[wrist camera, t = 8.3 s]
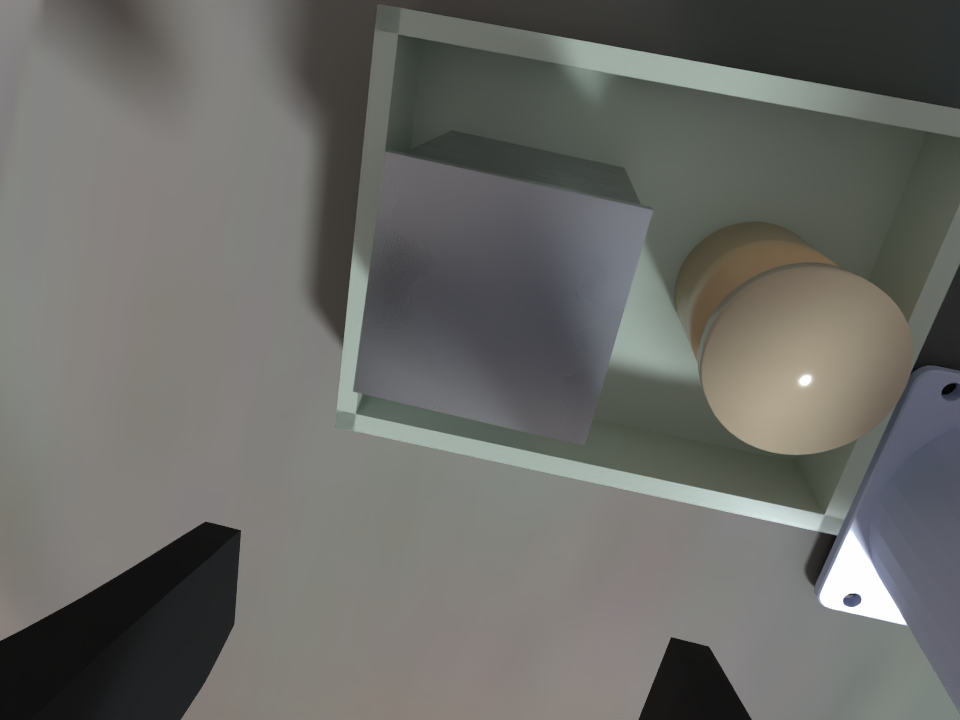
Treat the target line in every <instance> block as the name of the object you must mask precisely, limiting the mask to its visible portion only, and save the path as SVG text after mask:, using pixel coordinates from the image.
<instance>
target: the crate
mask: <svg viewBox="0 0 960 720" xmlns="http://www.w3.org/2000/svg"><path fill="white" fill-rule="evenodd" d="M452 130H453V131H458V132H462V133H467V134H472V135H476V136H481V137H485V138H490V139H495V140H499V141H504V142H508V143H513V144H518V145H522V146H527V147H532V148H536V149H541V150H545V151H550V152H555V153H559V154H564V155H569V156H573V157H578V158H582V159H587V160H592V161H596V162H601V163H605V164H610V165H615V166H619V167H624V168H625V170H626V172H627V175H628V177H629V179H630V181H631V183H632V186H633V188H634V190H635V192H636V194H637V197H638V199H639V201H640V203H641V205H645V206H649V207H652V209H653V213H652V216H651V220H650V223H649V227H648V230H647V234H646V237H645V240H644V244H643V247H642V251H641V254H640V258H639V261H638V265H637V268H636V271H635V275H634V278H633V282H632V285H631V289H630V292H629V296H628V299H627V302H626V306H625V309H624V313H623V316H622V320H621V323H620V326H619V330H618V333H617V337H616V340H615V344H614V347H613V351H612V354H611V357H610V361H609V364H608V368H607V371H606V375H605V378H604V382H603V385H602V388H601V392H600V395H599V399H598V402H597V406H596V409H595V413H594V416H593V419H592V423H591V426H590V430H589V433H588V437H587V440H586V444H585V446H581V445H577V444H573V443H569V442H564V441H560V440H556V439H552V438H547V437H543V436H539V435H535V434H530V433H526V432H522V431H518V430H513V429H509V428H505V427H501V426H497V425H492V424H488V423H484V422H480V421H475V420H471V419H467V418H463V417H458V416H454V415H450V414H446V413H441V412H437V411H433V410H429V409H424V408H420V407H416V406H412V405H407V404H403V403H399V402H395V401H390V400H386V399H382V398H378V397H373V396H369V395H365V394H361V393H356V392H353V387H354V380H355V372H356V365H357V357H358V350H359V343H360V335H361V328H362V320H363V313H364V306H365V298H366V291H367V283H368V276H369V269H370V261H371V254H372V246H373V239H374V231H375V224H376V217H377V209H378V202H379V194H380V187H381V180H382V172H383V165H384V157H385V151H388V150H393V151H398V152H403V153H404V152H406V151H408V150H410V149H412V148H415V147H417V146H419V145H421V144H423V143H426V142H428V141H430V140H432V139H434V138H436V137H439V136H441V135H443V134H445V133H447V132H449V131H452ZM744 222H765V223H771V224H774V225H778V226H781V227H783V228H785V229H787V230H789V231H791V232H792V233H794V234H796V235H797V236H798V237H800V238H801V239H802V240H804V241H805V242H807V243H808V244H809V245H811V246H812V247H813V248H815V249H816V250H818V251H819V252H820V253H822V254H823V255H824V256H826V257H827V258H828V259H830V260H831V261H833V262H834V263H835V264H837V265H838V266H839V267H843V268H845V269H848V270H850V271H853V272H855V273H857V274H859V275H860V276H862V277H864V278H865V279H867V280H868V281H870V282H871V283H873V284H874V285H875V286H877V287H878V288H880V289H881V290H882V291H883V292H884V293H886V294H887V295H888V296H889V297H890V298H891V299H892V300H893V301H894V302H895V303H896V304H897V306H898V307H899V309H900V310H901V312H902V313H903V315H904V317H905V319H906V321H907V323H908V326H909V328H910V332H911V336H912V342H913V364H912V369H913V367H914V364H915V362H916V360H917V358H918V355H919V353H920V351H921V349H922V347H923V344H924V342H925V340H926V338H927V335H928V333H929V331H930V329H931V327H932V324H933V322H934V320H935V318H936V315H937V313H938V311H939V309H940V307H941V304H942V302H943V300H944V298H945V295H946V293H947V291H948V289H949V287H950V284H951V282H952V280H953V278H954V275H955V273H956V271H957V269H958V267H959V264H960V109H956V108H950V107H945V106H939V105H934V104H928V103H923V102H917V101H912V100H906V99H901V98H895V97H890V96H884V95H879V94H873V93H868V92H862V91H857V90H851V89H846V88H840V87H835V86H829V85H824V84H818V83H813V82H807V81H802V80H796V79H791V78H785V77H780V76H774V75H769V74H763V73H758V72H752V71H746V70H741V69H735V68H730V67H724V66H719V65H713V64H708V63H702V62H697V61H691V60H686V59H680V58H675V57H669V56H664V55H658V54H653V53H647V52H642V51H636V50H631V49H625V48H620V47H614V46H609V45H603V44H598V43H592V42H587V41H581V40H576V39H570V38H565V37H559V36H553V35H548V34H542V33H537V32H531V31H526V30H520V29H515V28H509V27H504V26H498V25H493V24H487V23H482V22H476V21H471V20H465V19H460V18H454V17H449V16H443V15H438V14H432V13H427V12H421V11H416V10H410V9H405V8H399V7H394V6H388V5H383V4H377V12H376V22H375V32H374V42H373V52H372V62H371V72H370V82H369V92H368V102H367V112H366V122H365V132H364V142H363V153H362V163H361V173H360V183H359V193H358V203H357V213H356V223H355V233H354V243H353V253H352V263H351V273H350V283H349V293H348V303H347V313H346V323H345V333H344V343H343V353H342V363H341V374H340V384H339V394H338V404H337V414H336V424H335V427H338V428H343V429H347V430H352V431H357V432H361V433H366V434H371V435H375V436H380V437H384V438H389V439H394V440H398V441H403V442H407V443H412V444H417V445H421V446H426V447H431V448H435V449H440V450H444V451H449V452H454V453H458V454H463V455H468V456H472V457H477V458H481V459H486V460H491V461H495V462H500V463H505V464H509V465H514V466H518V467H523V468H528V469H532V470H537V471H542V472H546V473H551V474H555V475H560V476H565V477H569V478H574V479H578V480H583V481H588V482H592V483H597V484H602V485H606V486H611V487H615V488H620V489H625V490H629V491H634V492H639V493H643V494H648V495H652V496H657V497H662V498H666V499H671V500H676V501H680V502H685V503H689V504H694V505H699V506H703V507H708V508H712V509H717V510H722V511H726V512H731V513H736V514H740V515H745V516H749V517H754V518H759V519H763V520H768V521H773V522H777V523H782V524H786V525H791V526H796V527H800V528H805V529H810V530H814V531H819V532H823V533H828V534H833V535H838V533H839V531H840V529H841V527H842V524H843V522H844V520H845V518H846V515H847V513H848V511H849V509H850V507H851V504H852V502H853V500H854V498H855V495H856V493H857V491H858V489H859V487H860V484H861V482H862V480H863V478H864V475H865V473H866V471H867V469H868V467H869V464H870V462H871V460H872V458H873V455H874V453H875V451H876V449H877V447H878V444H879V442H880V440H881V438H882V435H883V433H884V431H885V429H886V427H887V424H888V422H889V420H890V418H891V415H892V413H893V411H894V409H895V407H896V405H895V406H894V408H893V409H892V410H891V412H890V413H889V414H888V415H887V416H886V417H885V418H884V419H883V420H882V421H881V422H880V423H879V424H878V425H877V426H875V427H874V428H873V429H872V430H870V431H869V432H867V433H866V434H864V435H863V436H861V437H860V438H858V439H856V440H854V441H852V442H850V443H848V444H846V445H843V446H841V447H838V448H835V449H832V450H828V451H825V452H820V453H814V454H804V455H788V454H779V453H773V452H769V451H765V450H762V449H759V448H756V447H754V446H752V445H749V444H747V443H746V442H744V441H742V440H740V439H739V438H737V437H736V436H735V435H733V434H732V433H731V432H729V431H728V430H727V429H726V428H725V427H724V426H723V425H722V424H721V422H720V421H719V420H718V418H717V417H716V416H715V414H714V413H713V411H712V409H711V407H710V405H709V403H708V401H707V398H706V395H705V393H704V390H703V388H702V385H701V382H700V377H699V373H698V363H697V360H696V358H695V356H694V353H693V351H692V348H691V346H690V344H689V341H688V339H687V336H686V334H685V332H684V329H683V327H682V324H681V322H680V319H679V317H678V314H677V311H676V306H675V296H674V294H675V285H676V280H677V276H678V273H679V271H680V268H681V266H682V264H683V262H684V261H685V259H686V258H687V256H688V255H689V253H690V252H691V251H692V250H693V249H694V248H695V247H696V245H698V244H699V243H700V242H701V241H702V240H703V239H705V238H706V237H708V236H709V235H710V234H712V233H714V232H716V231H718V230H720V229H722V228H725V227H727V226H730V225H734V224H738V223H744ZM912 369H911V371H912Z"/></svg>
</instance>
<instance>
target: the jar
mask: <svg viewBox="0 0 960 720" xmlns="http://www.w3.org/2000/svg"><path fill="white" fill-rule="evenodd" d="M674 296H675V306H676V311H677V314H678V317H679V319H680V322H681V324H682V327H683V329H684V332H685V334H686V336H687V339H688V341H689V344H690V346H691V348H692V351H693V353H694V356H695V358H696V360H697V363H698V373H699V377H700V382H701V385H702V388H703V390H704V393H705V395H706V398H707V401H708V403H709V405H710V407H711V409H712V411H713V413H714V414H715V416H716V417H717V418H718V420H719V421H720V422H721V424H722V425H723V426H724V427H725V428H726V429H727V430H728V431H729V432H731V433H732V434H733V435H735V436H736V437H737V438H739V439H740V440H742V441H744V442H746V443H747V444H749V445H752V446H754V447H756V448H759V449H762V450H765V451H769V452H773V453H779V454H788V455H804V454H814V453H820V452H825V451H828V450H832V449H835V448H838V447H841V446H843V445H846V444H848V443H850V442H852V441H854V440H856V439H858V438H860V437H861V436H863V435H864V434H866V433H867V432H869V431H870V430H872V429H873V428H874V427H875V426H877V425H878V424H879V423H880V422H881V421H882V420H883V419H884V418H885V417H886V416H887V415H888V414H889V413H890V412H891V410H892V409H893V408H894V406H895V405H896V404H897V402H898V401H899V399H900V397H901V396H902V394H903V392H904V390H905V388H906V385H907V383H908V380H909V377H910V374H911V369H912V364H913V342H912V336H911V332H910V328H909V326H908V323H907V321H906V319H905V317H904V315H903V313H902V312H901V310H900V309H899V307H898V306H897V304H896V303H895V302H894V301H893V300H892V299H891V298H890V297H889V296H888V295H887V294H886V293H884V292H883V291H882V290H881V289H880V288H878V287H877V286H875V285H874V284H873V283H871V282H870V281H868V280H867V279H865V278H864V277H862V276H860V275H859V274H857V273H855V272H853V271H850V270H848V269H845V268H843V267H839V266H838V265H837V264H835V263H834V262H833V261H831V260H830V259H828V258H827V257H826V256H824V255H823V254H822V253H820V252H819V251H818V250H816V249H815V248H813V247H812V246H811V245H809V244H808V243H807V242H805V241H804V240H802V239H801V238H800V237H798V236H797V235H796V234H794V233H792V232H791V231H789V230H787V229H785V228H783V227H781V226H778V225H774V224H771V223H765V222H744V223H738V224H734V225H730V226H727V227H725V228H722V229H720V230H718V231H716V232H714V233H712V234H710V235H709V236H708V237H706V238H705V239H703V240H702V241H701V242H700V243H699V244H698V245H696V247H695V248H694V249H693V250H692V251H691V252H690V253H689V255H688V256H687V258H686V259H685V261H684V262H683V264H682V266H681V268H680V271H679V273H678V276H677V280H676V285H675V294H674Z"/></svg>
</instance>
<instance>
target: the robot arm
mask: <svg viewBox="0 0 960 720" xmlns="http://www.w3.org/2000/svg"><path fill="white" fill-rule="evenodd" d="M950 383H956V388H955V389H954V390H953V392H951V393H949V394H947V395H941V393H942V389H943V388H944V387H945V386H946V385H948V384H950ZM240 537H241V530H238V529H233V528H229V527H225V526H221V525H217V524H213V523H209V522H204V523H203V524H201V525H199V526H198V527H196V528H194V529H193V530H191V531H189V532H188V533H186V534H185V535H183V536H181V537H180V538H178V539H177V540H175V541H173V542H172V543H170V544H169V545H167V546H165V547H164V548H162V549H161V550H159V551H157V552H156V553H154V554H153V555H151V556H149V557H148V558H146V559H145V560H143V561H141V562H140V563H138V564H137V565H135V566H133V567H132V568H130V569H129V570H127V571H125V572H124V573H122V574H120V575H119V576H117V577H115V578H114V579H112V580H110V581H109V582H107V583H105V584H103V585H102V586H100V587H98V588H97V589H95V590H93V591H92V592H90V593H88V594H87V595H85V596H83V597H82V598H80V599H78V600H76V601H75V602H73V603H71V604H69V605H67V606H65V607H64V608H62V609H60V610H58V611H56V612H54V613H53V614H51V615H49V616H47V617H45V618H43V619H42V620H40V621H38V622H36V623H34V624H32V625H30V626H29V627H27V628H25V629H23V630H21V631H19V632H17V633H15V634H13V635H11V636H9V637H7V638H5V639H3V640H1V641H0V720H181V718H182V717H183V715H184V714H185V712H186V711H187V709H188V708H189V706H190V705H191V703H192V701H193V700H194V698H195V697H196V695H197V694H198V692H199V691H200V689H201V688H202V686H203V684H204V683H205V681H206V679H207V677H208V675H209V674H210V672H211V670H212V668H213V666H214V664H215V662H216V660H217V658H218V656H219V654H220V652H221V650H222V648H223V646H224V644H225V642H226V640H227V638H228V636H229V634H230V632H231V630H232V628H233V626H234V621H235V607H236V593H237V579H238V565H239V551H240ZM814 591H815V594H816V596H817V599H818V601H819V602H820V603H821V604H822V605H823V606H825V607H827V608H830V609H835V610H839V611H844V612H848V613H853V614H857V615H862V616H866V617H871V618H875V619H880V620H884V621H889V622H893V623H898V624H902V625H907V626H908V627H909V628H910V630H911V632H912V633H913V635H914V637H915V639H916V640H917V642H918V644H919V645H920V647H921V649H922V650H923V652H924V654H925V656H926V657H927V659H928V661H929V662H930V664H931V666H932V667H933V669H934V671H935V672H936V674H937V676H938V678H939V679H940V681H941V683H942V684H943V686H944V688H945V689H946V691H947V693H948V694H949V696H950V698H951V700H952V701H953V703H954V705H955V706H956V708H957V710H958V711H959V713H960V371H959V370H954V369H949V368H944V367H939V366H924V367H921V368H918V369H917V370H915V371H914V372H913V373H912V374H911V375H910V377H909V380H908V383H907V385H906V388H905V390H904V392H903V394H902V396H901V397H900V399H899V401H898V402H897V404H896V407H895V409H894V411H893V413H892V415H891V418H890V420H889V422H888V424H887V427H886V429H885V431H884V433H883V435H882V438H881V440H880V442H879V444H878V447H877V449H876V451H875V453H874V455H873V458H872V460H871V462H870V464H869V467H868V469H867V471H866V473H865V475H864V478H863V480H862V482H861V484H860V487H859V489H858V491H857V493H856V495H855V498H854V500H853V502H852V504H851V507H850V509H849V511H848V513H847V515H846V518H845V520H844V522H843V524H842V527H841V529H840V531H839V533H838V535H837V538H836V540H835V542H834V544H833V546H832V549H831V551H830V553H829V555H828V558H827V560H826V562H825V564H824V566H823V569H822V571H821V573H820V575H819V578H818V580H817V582H816V584H815V589H814ZM850 593H856V594H855V596H853V597H851V598H844V597H845V596H846V595H847V594H850ZM639 720H752V719H751V718H750V716H749V714H748V713H747V711H746V709H745V707H744V706H743V704H742V702H741V701H740V699H739V697H738V695H737V694H736V692H735V690H734V689H733V687H732V685H731V683H730V682H729V680H728V678H727V676H726V675H725V673H724V671H723V670H722V668H721V666H720V664H719V663H718V661H717V659H716V658H715V656H714V654H713V653H712V651H711V649H710V648H709V647H708V646H704V645H700V644H696V643H692V642H688V641H684V640H680V639H676V638H672V637H671V639H670V642H669V644H668V647H667V649H666V652H665V654H664V657H663V659H662V662H661V664H660V667H659V669H658V672H657V674H656V677H655V679H654V682H653V684H652V687H651V689H650V692H649V695H648V697H647V700H646V702H645V705H644V707H643V710H642V712H641V715H640V717H639Z"/></svg>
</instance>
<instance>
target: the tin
mask: <svg viewBox="0 0 960 720" xmlns="http://www.w3.org/2000/svg"><path fill="white" fill-rule="evenodd" d="M652 213H653V209H652V207H649V206H645V205H641V203H640V201H639V199H638V197H637V194H636V192H635V190H634V188H633V186H632V183H631V181H630V179H629V177H628V175H627V172H626V170H625V168H624V167H619V166H615V165H610V164H605V163H601V162H596V161H592V160H587V159H582V158H578V157H573V156H569V155H564V154H559V153H555V152H550V151H545V150H541V149H536V148H532V147H527V146H522V145H518V144H513V143H508V142H504V141H499V140H495V139H490V138H485V137H481V136H476V135H472V134H467V133H462V132H458V131H453V130H452V131H449V132H447V133H445V134H443V135H441V136H439V137H436V138H434V139H432V140H430V141H428V142H426V143H423V144H421V145H419V146H417V147H415V148H412V149H410V150H408V151H406V152H404V153H403V152H398V151H393V150H388V151H385V157H384V165H383V172H382V180H381V187H380V194H379V202H378V209H377V217H376V224H375V231H374V239H373V246H372V254H371V261H370V269H369V276H368V283H367V291H366V298H365V306H364V313H363V320H362V328H361V335H360V343H359V350H358V357H357V365H356V372H355V380H354V387H353V392H356V393H361V394H365V395H369V396H373V397H378V398H382V399H386V400H390V401H395V402H399V403H403V404H407V405H412V406H416V407H420V408H424V409H429V410H433V411H437V412H441V413H446V414H450V415H454V416H458V417H463V418H467V419H471V420H475V421H480V422H484V423H488V424H492V425H497V426H501V427H505V428H509V429H513V430H518V431H522V432H526V433H530V434H535V435H539V436H543V437H547V438H552V439H556V440H560V441H564V442H569V443H573V444H577V445H581V446H585V444H586V440H587V437H588V433H589V430H590V426H591V423H592V419H593V416H594V413H595V409H596V406H597V402H598V399H599V395H600V392H601V388H602V385H603V382H604V378H605V375H606V371H607V368H608V364H609V361H610V357H611V354H612V351H613V347H614V344H615V340H616V337H617V333H618V330H619V326H620V323H621V320H622V316H623V313H624V309H625V306H626V302H627V299H628V296H629V292H630V289H631V285H632V282H633V278H634V275H635V271H636V268H637V265H638V261H639V258H640V254H641V251H642V247H643V244H644V240H645V237H646V234H647V230H648V227H649V223H650V220H651V216H652Z"/></svg>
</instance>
